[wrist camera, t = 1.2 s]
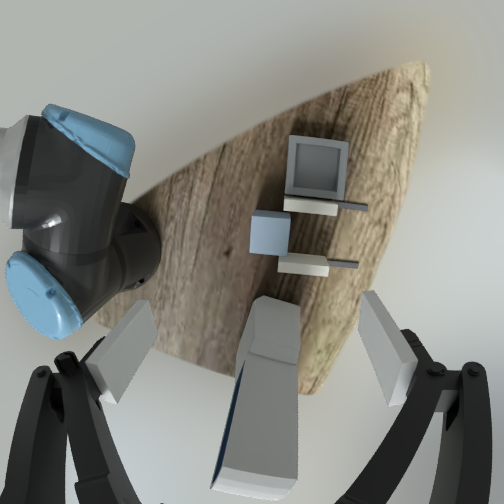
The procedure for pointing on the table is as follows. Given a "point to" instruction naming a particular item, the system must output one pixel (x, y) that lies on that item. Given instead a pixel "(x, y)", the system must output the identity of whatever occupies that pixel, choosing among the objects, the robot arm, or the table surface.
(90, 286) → the robot arm
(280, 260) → the channel
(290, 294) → the table surface
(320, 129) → the table surface
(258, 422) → the electronic device
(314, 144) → the tray
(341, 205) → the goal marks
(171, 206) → the table surface
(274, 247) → the block
